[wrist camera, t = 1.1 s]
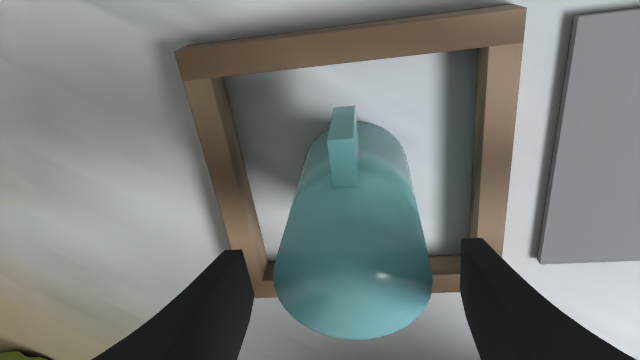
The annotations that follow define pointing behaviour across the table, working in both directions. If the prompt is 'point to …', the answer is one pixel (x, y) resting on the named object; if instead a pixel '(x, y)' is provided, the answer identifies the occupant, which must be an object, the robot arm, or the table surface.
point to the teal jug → (354, 236)
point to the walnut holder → (352, 46)
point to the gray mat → (597, 146)
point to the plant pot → (17, 356)
